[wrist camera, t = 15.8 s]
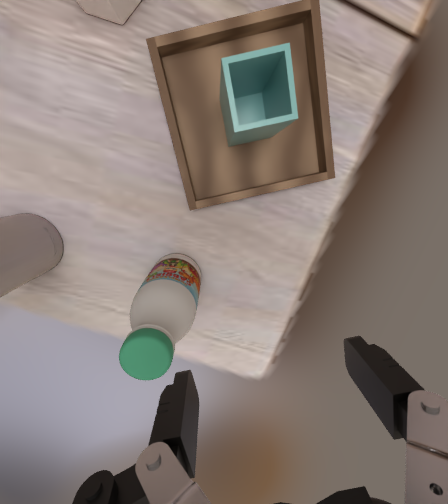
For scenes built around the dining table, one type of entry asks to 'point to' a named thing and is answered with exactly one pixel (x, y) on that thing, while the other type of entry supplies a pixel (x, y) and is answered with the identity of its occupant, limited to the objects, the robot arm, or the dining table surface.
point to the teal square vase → (257, 94)
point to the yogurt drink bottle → (161, 316)
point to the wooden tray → (210, 114)
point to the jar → (110, 9)
